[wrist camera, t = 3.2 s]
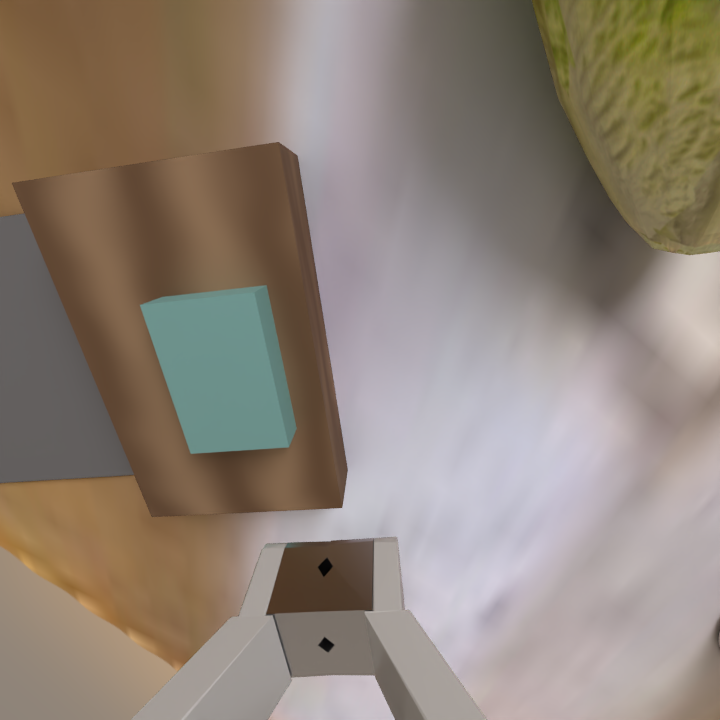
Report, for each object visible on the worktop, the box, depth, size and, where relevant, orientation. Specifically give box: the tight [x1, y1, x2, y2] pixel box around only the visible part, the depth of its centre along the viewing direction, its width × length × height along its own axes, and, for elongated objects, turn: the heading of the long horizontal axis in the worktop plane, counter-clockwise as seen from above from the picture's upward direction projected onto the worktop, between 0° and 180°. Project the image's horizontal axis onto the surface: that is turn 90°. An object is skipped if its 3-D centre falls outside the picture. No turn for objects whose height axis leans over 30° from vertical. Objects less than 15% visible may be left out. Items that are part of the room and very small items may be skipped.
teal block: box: [140, 285, 297, 454], centre depth 21 cm, size 6×9×2 cm, turn 7°
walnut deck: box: [12, 142, 348, 517], centre depth 24 cm, size 14×22×4 cm, turn 7°
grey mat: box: [0, 214, 134, 483], centre depth 27 cm, size 16×20×1 cm
